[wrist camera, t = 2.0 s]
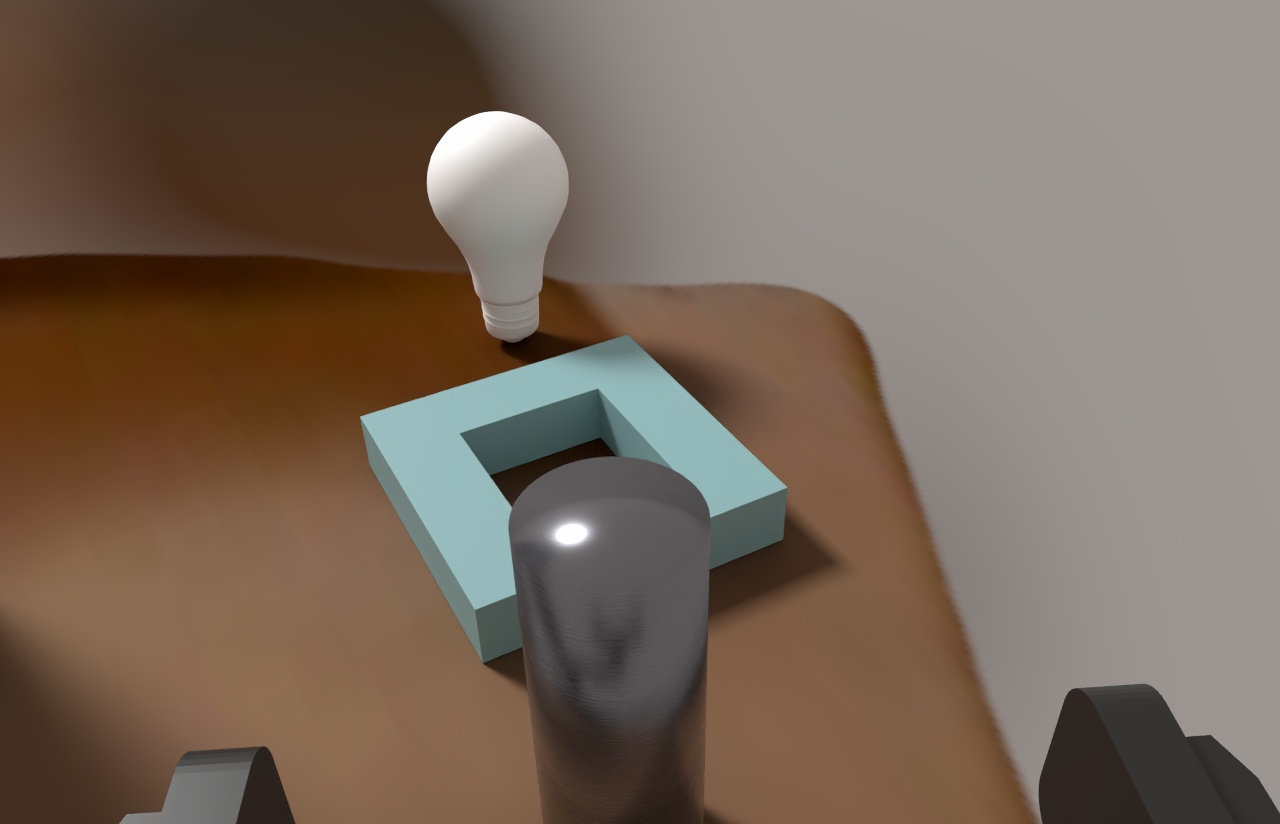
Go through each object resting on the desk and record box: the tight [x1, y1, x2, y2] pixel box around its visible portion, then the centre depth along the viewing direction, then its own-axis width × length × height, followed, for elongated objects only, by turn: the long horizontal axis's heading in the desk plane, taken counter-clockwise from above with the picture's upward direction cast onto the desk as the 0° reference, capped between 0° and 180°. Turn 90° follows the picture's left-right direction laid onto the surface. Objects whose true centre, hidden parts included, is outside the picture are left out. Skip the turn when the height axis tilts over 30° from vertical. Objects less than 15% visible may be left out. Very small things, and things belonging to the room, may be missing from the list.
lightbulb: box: [427, 112, 569, 342], centre depth 49 cm, size 6×6×11 cm
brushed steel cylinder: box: [508, 456, 711, 824], centre depth 28 cm, size 4×4×12 cm
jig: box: [360, 335, 787, 663], centre depth 42 cm, size 12×12×2 cm
